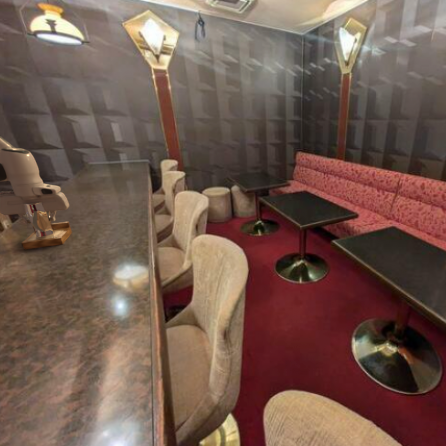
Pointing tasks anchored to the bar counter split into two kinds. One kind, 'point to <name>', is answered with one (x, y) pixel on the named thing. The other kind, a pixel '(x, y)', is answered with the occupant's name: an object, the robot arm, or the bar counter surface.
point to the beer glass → (39, 219)
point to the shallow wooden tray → (58, 238)
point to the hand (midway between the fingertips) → (41, 221)
